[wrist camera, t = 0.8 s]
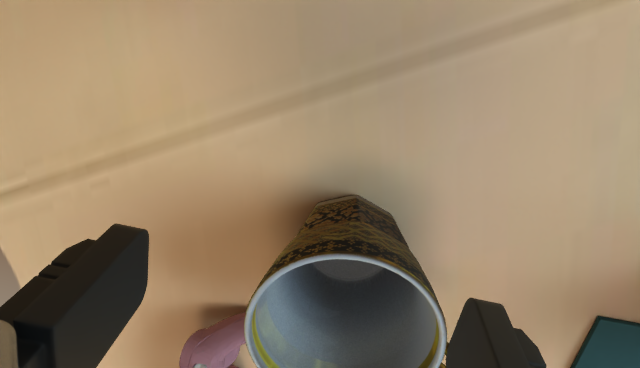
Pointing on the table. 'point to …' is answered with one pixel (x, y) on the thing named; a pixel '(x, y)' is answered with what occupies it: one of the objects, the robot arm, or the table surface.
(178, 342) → the table surface
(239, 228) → the table surface
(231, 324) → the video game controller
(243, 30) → the table surface
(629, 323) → the placemat
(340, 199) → the ceramic cup
